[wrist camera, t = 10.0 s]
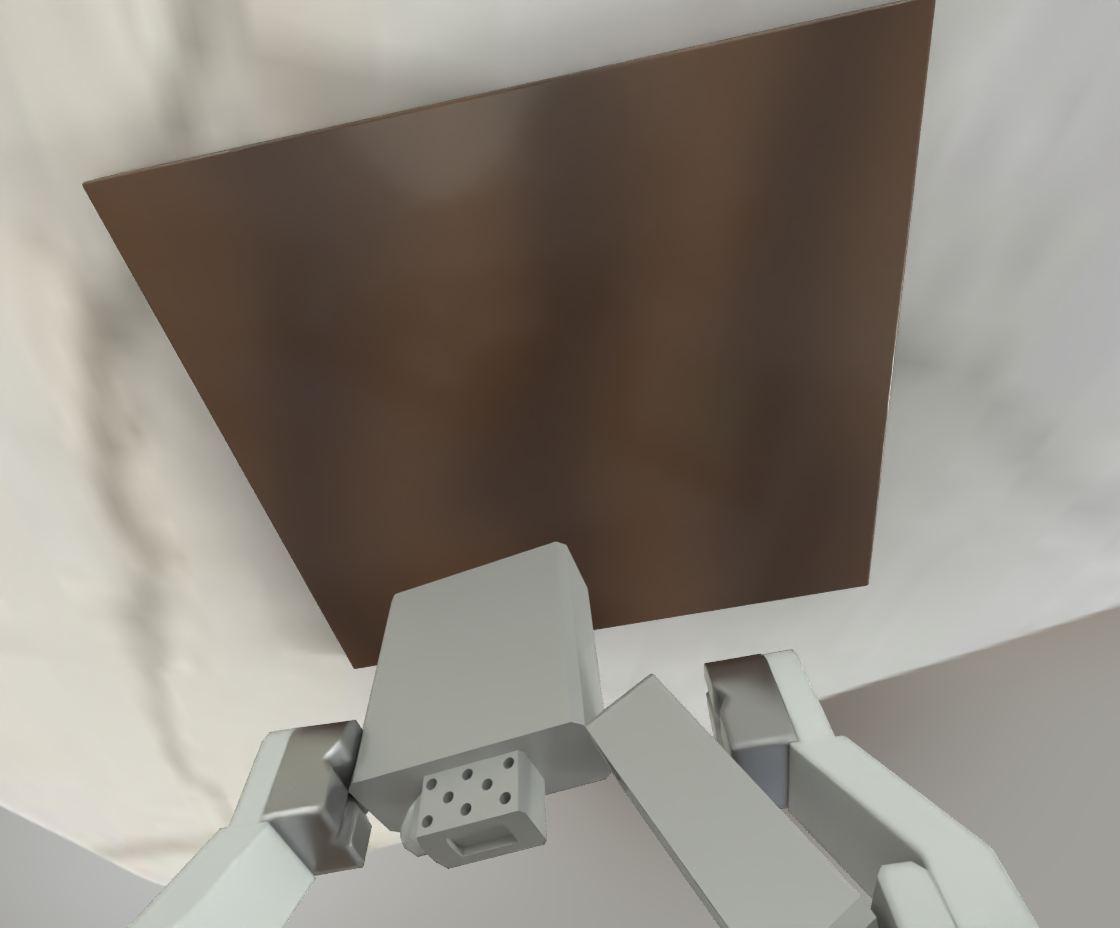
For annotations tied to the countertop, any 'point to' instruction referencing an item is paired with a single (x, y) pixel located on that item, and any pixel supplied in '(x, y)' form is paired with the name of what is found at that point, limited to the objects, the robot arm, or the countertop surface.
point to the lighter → (565, 747)
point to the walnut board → (562, 321)
